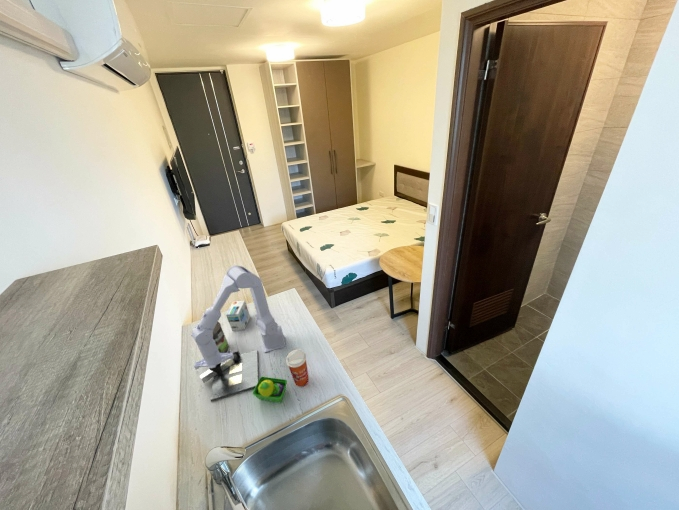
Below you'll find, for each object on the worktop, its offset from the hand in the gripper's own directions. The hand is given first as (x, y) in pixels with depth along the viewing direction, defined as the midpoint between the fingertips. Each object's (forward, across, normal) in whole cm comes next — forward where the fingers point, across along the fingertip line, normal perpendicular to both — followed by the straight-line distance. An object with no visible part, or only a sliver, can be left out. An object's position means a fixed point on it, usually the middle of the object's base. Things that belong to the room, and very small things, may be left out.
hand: (220, 374), depth 113 cm
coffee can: (+2, -3, +16) cm, 16 cm away
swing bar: (+1, 0, +3) cm, 3 cm away
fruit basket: (+2, +20, -16) cm, 26 cm away
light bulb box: (+2, +7, +32) cm, 33 cm away
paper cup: (+2, +32, -13) cm, 34 cm away
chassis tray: (+2, +6, 0) cm, 6 cm away
